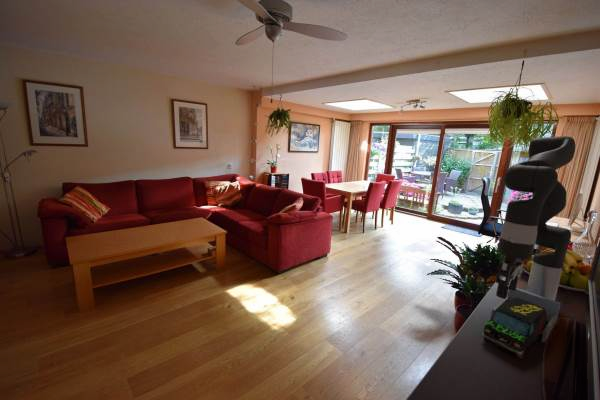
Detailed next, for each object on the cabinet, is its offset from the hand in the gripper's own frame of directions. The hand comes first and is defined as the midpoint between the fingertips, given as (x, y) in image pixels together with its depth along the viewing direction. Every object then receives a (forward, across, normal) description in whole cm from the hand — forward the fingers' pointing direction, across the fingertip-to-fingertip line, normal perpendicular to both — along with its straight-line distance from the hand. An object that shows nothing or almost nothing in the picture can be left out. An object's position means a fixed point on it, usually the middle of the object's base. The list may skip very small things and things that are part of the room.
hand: (506, 293), depth 76 cm
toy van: (+21, -18, +1) cm, 28 cm away
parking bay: (+20, -32, 0) cm, 38 cm away
